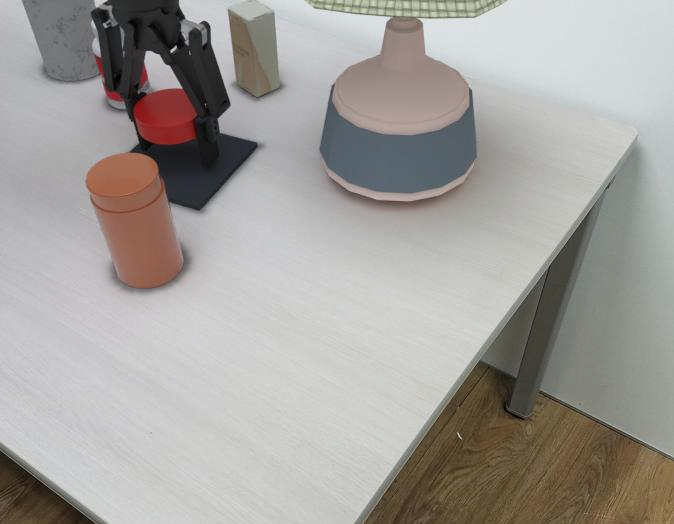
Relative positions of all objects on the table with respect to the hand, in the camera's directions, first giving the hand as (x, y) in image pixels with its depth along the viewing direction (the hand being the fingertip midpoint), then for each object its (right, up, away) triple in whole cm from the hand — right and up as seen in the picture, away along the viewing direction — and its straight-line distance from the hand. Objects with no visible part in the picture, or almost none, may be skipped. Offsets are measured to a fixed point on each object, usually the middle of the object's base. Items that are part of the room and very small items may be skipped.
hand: (180, 152), depth 87 cm
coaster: (0, -1, +1) cm, 2 cm away
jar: (-1, -15, -11) cm, 18 cm away
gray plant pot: (-19, +18, +18) cm, 32 cm away
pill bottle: (-10, +10, +12) cm, 18 cm away
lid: (0, +4, -4) cm, 6 cm away
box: (+8, +13, +13) cm, 20 cm away
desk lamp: (+27, -2, 0) cm, 27 cm away
